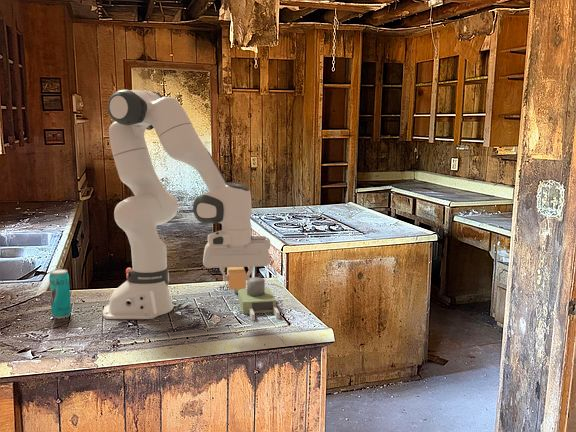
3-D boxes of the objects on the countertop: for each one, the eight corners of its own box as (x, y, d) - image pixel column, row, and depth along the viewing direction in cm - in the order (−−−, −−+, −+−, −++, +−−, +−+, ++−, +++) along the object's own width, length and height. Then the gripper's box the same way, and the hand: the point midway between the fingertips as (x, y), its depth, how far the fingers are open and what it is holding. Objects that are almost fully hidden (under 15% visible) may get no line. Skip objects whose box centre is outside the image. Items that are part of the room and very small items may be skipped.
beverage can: (49, 316, 172) (45, 271, 170) (66, 312, 176) (63, 267, 174) (56, 320, 168) (53, 274, 166) (74, 316, 172) (71, 271, 170)
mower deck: (245, 321, 169) (245, 293, 167) (238, 300, 189) (237, 275, 187) (279, 318, 171) (279, 291, 170) (268, 298, 191) (268, 274, 189)
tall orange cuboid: (229, 289, 161) (229, 273, 160) (227, 282, 168) (227, 267, 167) (245, 288, 162) (246, 272, 161) (242, 282, 169) (243, 266, 168)
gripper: (268, 233, 168) (267, 276, 170) (202, 235, 163) (202, 278, 166) (272, 238, 162) (271, 282, 164) (203, 239, 157) (203, 284, 160)
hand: (236, 280), depth 165 cm, fingers closed on tall orange cuboid, 5 cm apart
